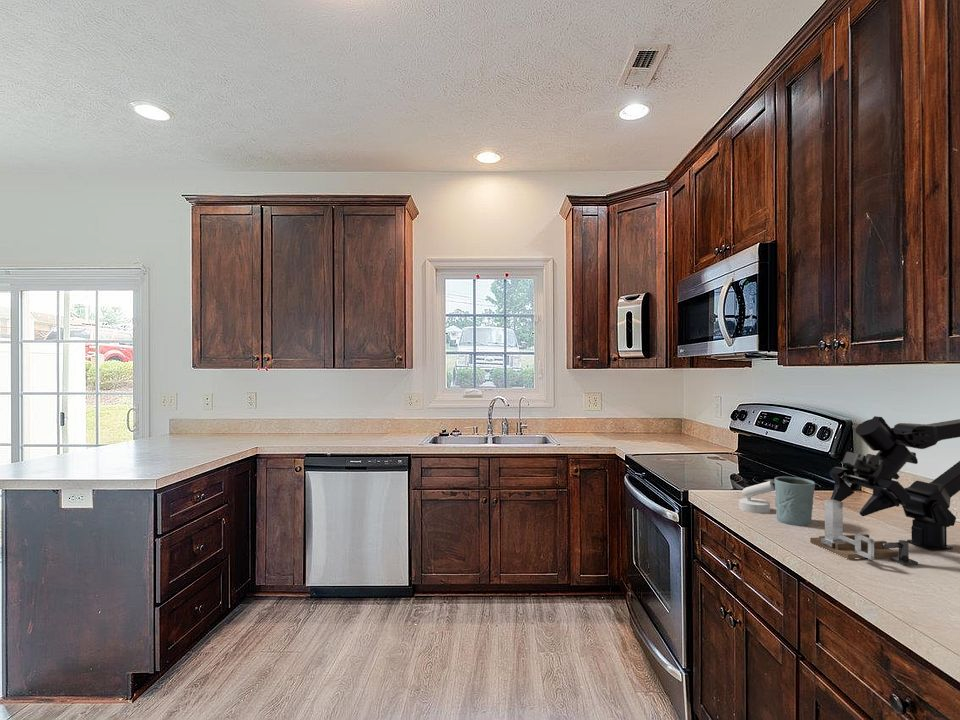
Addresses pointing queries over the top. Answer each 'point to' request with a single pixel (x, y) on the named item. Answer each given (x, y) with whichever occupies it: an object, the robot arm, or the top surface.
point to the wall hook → (753, 503)
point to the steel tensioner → (836, 530)
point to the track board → (849, 549)
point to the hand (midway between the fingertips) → (845, 509)
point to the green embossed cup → (794, 500)
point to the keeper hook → (901, 552)
